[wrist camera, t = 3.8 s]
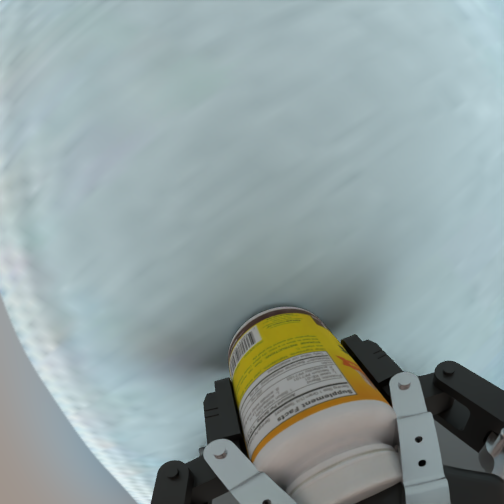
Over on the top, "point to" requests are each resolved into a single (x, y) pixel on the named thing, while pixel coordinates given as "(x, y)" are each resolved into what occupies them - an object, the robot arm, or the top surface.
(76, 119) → the top surface
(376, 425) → the supplement bottle
